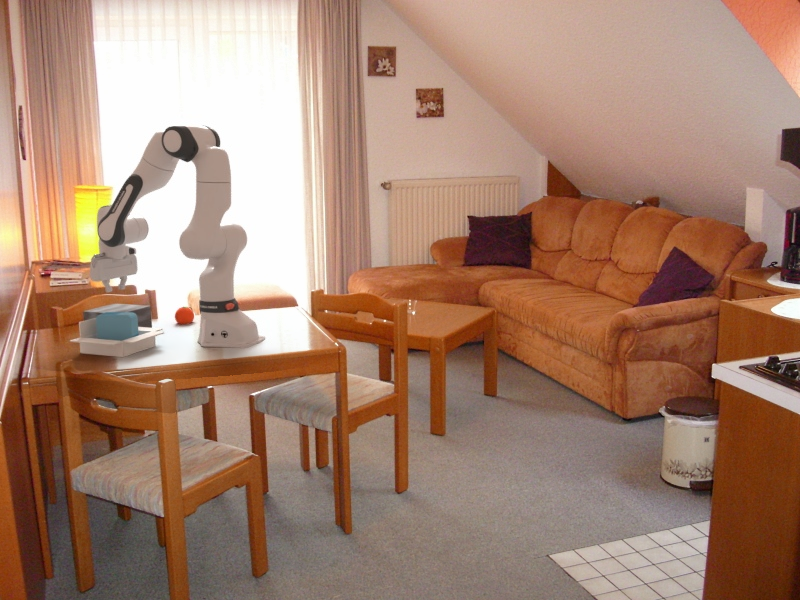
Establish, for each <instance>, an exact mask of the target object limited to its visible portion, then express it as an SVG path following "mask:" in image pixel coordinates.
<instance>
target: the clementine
mask: <svg viewBox="0 0 800 600" xmlns="http://www.w3.org/2000/svg"><path fill="white" fill-rule="evenodd" d="M174 318H175V322H176V323H177V324H178V325H188V324H187V323H189V324H192V323H193V322H194V319H195V313H194V310H193V308H192V307H190V306H182V307H178V308H177V310H176V311H175V313H174ZM191 322H192V323H191Z"/></svg>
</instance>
